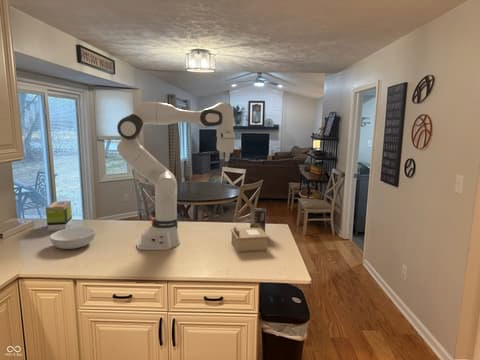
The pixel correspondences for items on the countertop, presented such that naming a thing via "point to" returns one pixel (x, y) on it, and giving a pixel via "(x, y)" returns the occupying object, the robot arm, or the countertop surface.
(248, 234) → the lid
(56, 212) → the tea box
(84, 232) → the serving bowl
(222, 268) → the countertop surface
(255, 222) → the coffee box
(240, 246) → the box
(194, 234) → the countertop surface
